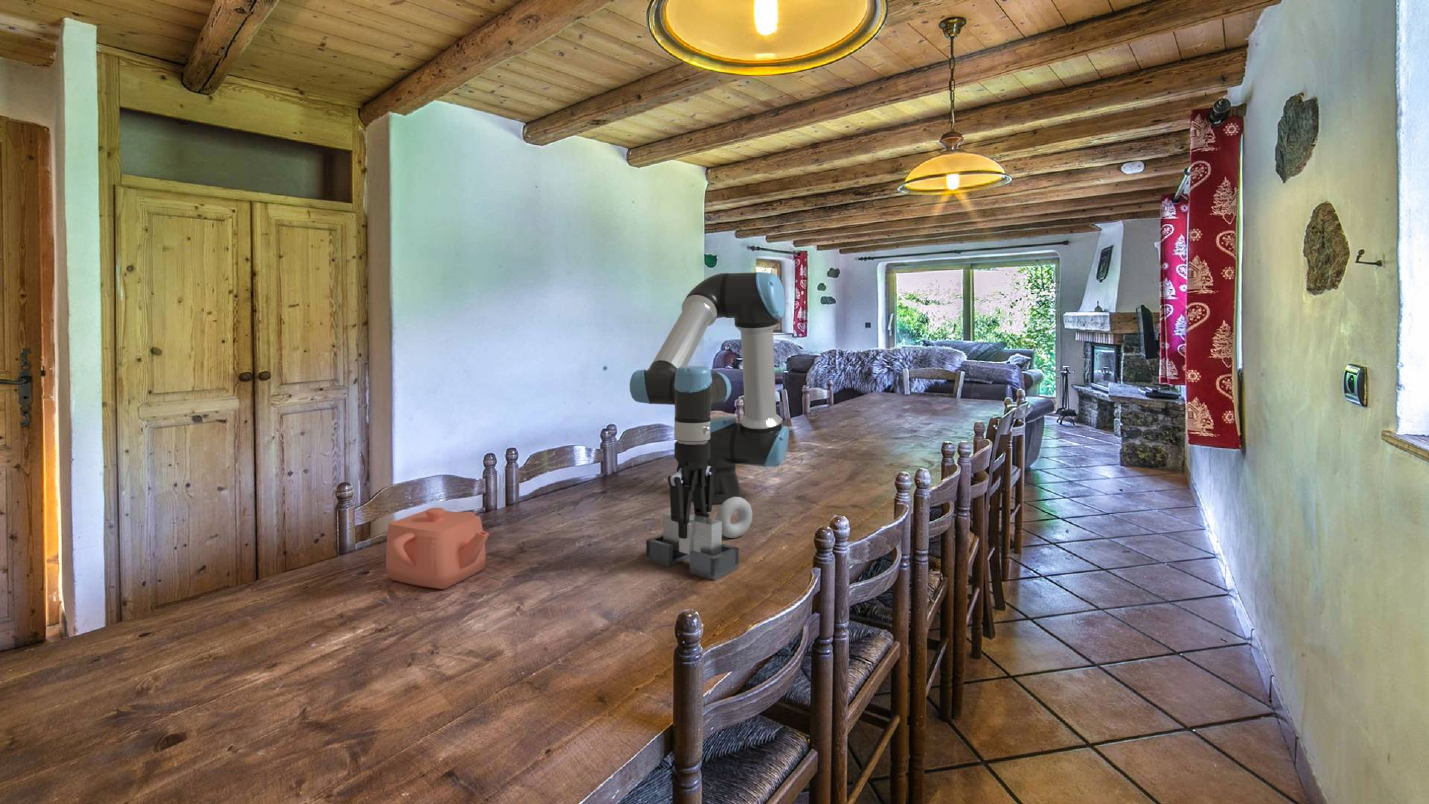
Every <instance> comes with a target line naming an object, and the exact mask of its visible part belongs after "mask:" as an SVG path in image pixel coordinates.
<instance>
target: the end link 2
mask: <svg viewBox="0 0 1429 804" xmlns="http://www.w3.org/2000/svg"><path fill="white" fill-rule="evenodd" d="M739 548H740V547H737V546H732V545H729V544H725V543H722V553H720V554H718V555H716V556H711V555H708V554H704V553H700V552H697V551H691V552H690V558H689V574H691V575H694V576H697V577H701V578H704V579H708V580H711V581H713V582H714V581H717V580H718V579H721V578H723V577H724V576H727V575H728V574H731V573H733V572H735V571H737V570H738V569H739V556H740V555H739V554H740V553H739V550H740V549H739Z"/></svg>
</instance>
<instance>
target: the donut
mask: <svg viewBox="0 0 1429 804" xmlns="http://www.w3.org/2000/svg"><path fill="white" fill-rule="evenodd" d="M735 512H738V517H737V520H736V521H735V522H734V523H731V522H732V521H731V518H732V515H733V513H735ZM715 520H720V521H722V536H724V537H725V538H729V539H736V538H738V537H741V536H742V535H744V534H745V533H746V532H747V531H748V529H749V528H750V526H751V524H752V521H753V510H752V507H751V504H750V502H748V501H747V500H746V499H745V498H743V497H742V496H741V497H732V498H729V499H727V500H726V501H725V502H723V503H722V504H720V506H719V508H718V510H717V512H716V517H715Z"/></svg>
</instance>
